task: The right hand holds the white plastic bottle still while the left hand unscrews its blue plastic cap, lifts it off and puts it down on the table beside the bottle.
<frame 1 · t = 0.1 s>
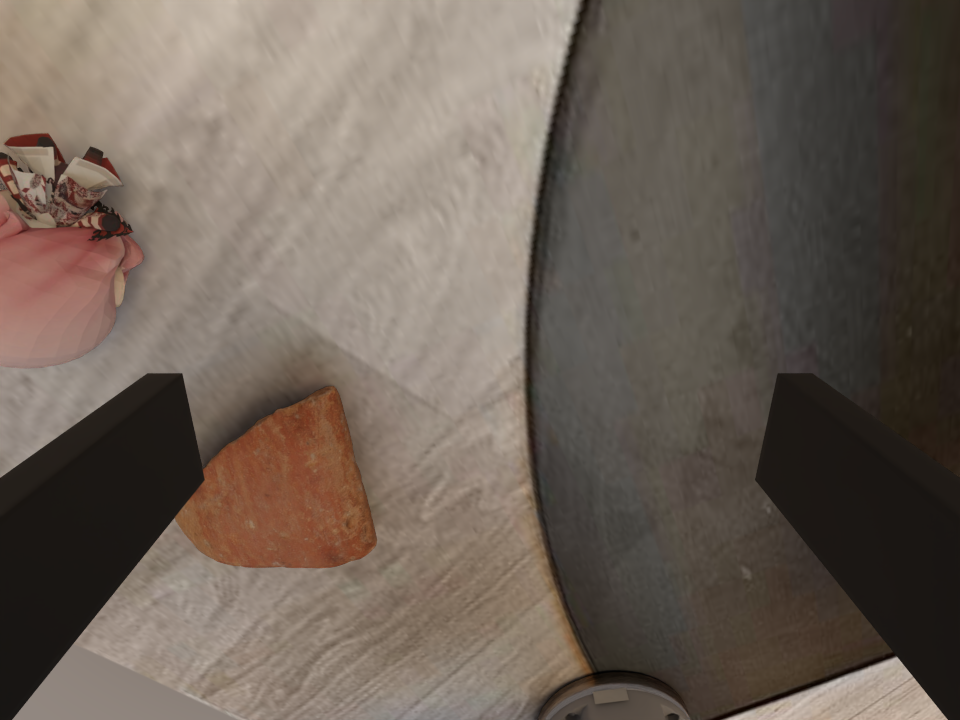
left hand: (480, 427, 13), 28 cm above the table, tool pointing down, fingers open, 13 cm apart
toy 2: (79, 235, 39), on the table
ceramic shard: (275, 470, 46), on the table
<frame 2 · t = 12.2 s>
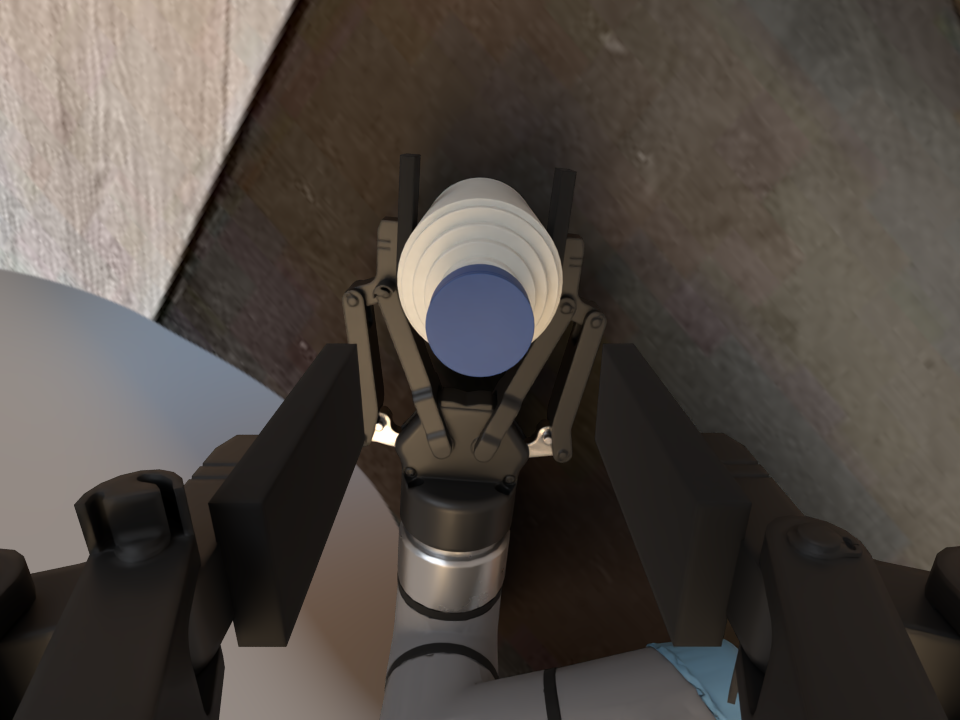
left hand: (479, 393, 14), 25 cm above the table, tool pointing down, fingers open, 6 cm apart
right hand: (488, 162, 29), fingers closed on bottle, 7 cm apart
bottle: (480, 235, 37), on the table, touching right hand
cap: (479, 324, 20), point 19 cm above the table, screwed on, not yet turned
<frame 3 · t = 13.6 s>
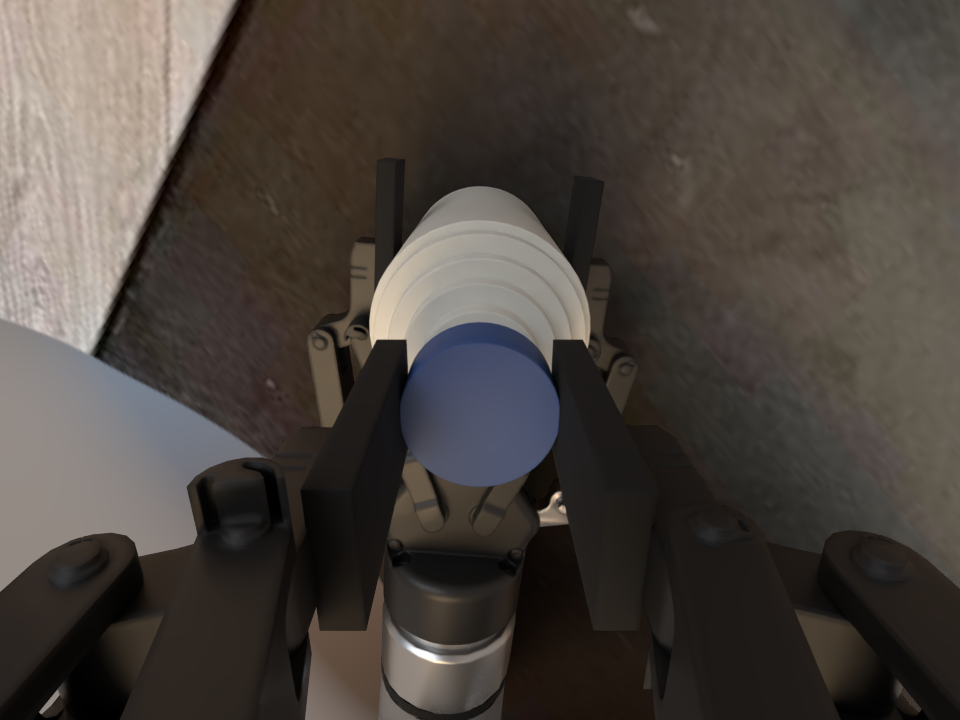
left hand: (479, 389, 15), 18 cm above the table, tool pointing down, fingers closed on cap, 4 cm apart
right hand: (490, 170, 23), fingers closed on bottle, 7 cm apart
bottle: (479, 255, 31), on the table, touching right hand
cap: (479, 413, 13), point 19 cm above the table, screwed on, not yet turned, touching left hand
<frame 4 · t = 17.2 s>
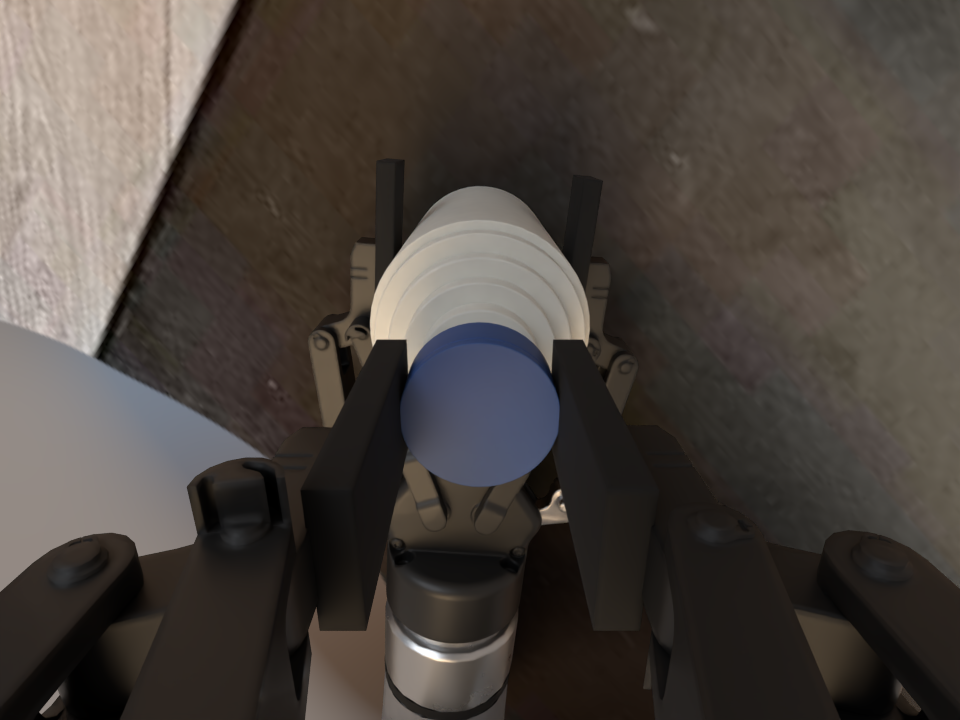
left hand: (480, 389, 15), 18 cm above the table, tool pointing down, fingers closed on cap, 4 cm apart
right hand: (489, 169, 23), fingers closed on bottle, 7 cm apart
bottle: (479, 255, 31), on the table, touching right hand
cap: (479, 413, 13), point 19 cm above the table, turned 97° so far, risen 0.1 cm, still on its thread, touching left hand
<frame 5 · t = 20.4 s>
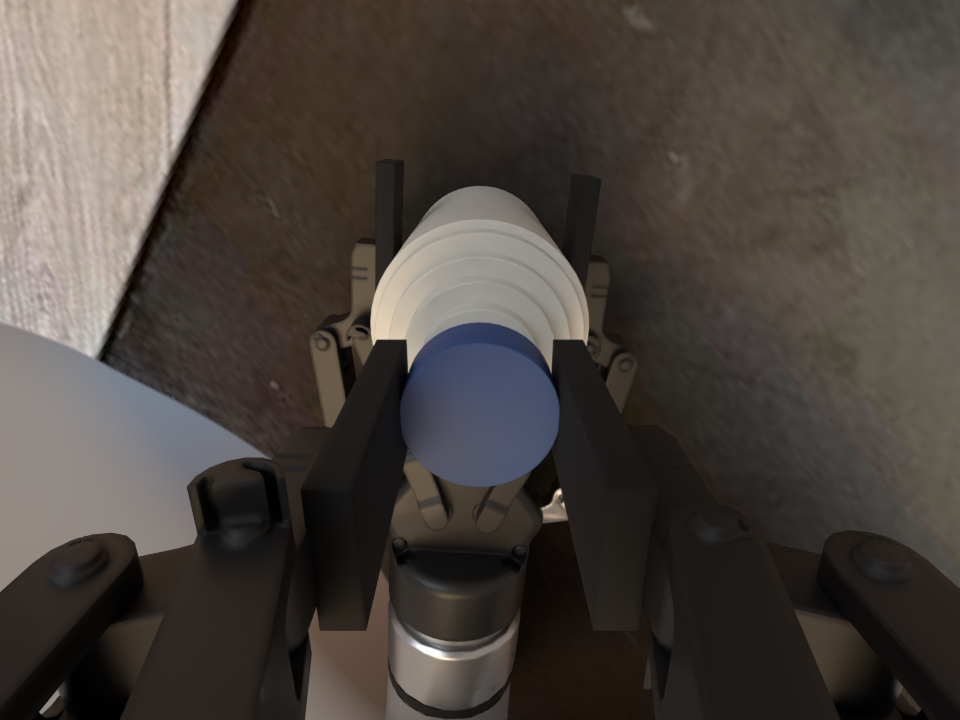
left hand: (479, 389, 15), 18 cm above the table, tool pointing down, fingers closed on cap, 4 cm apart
right hand: (488, 169, 23), fingers closed on bottle, 7 cm apart
bottle: (479, 255, 31), on the table, touching right hand
cap: (479, 413, 13), point 19 cm above the table, turned 193° so far, risen 0.2 cm, still on its thread, touching left hand
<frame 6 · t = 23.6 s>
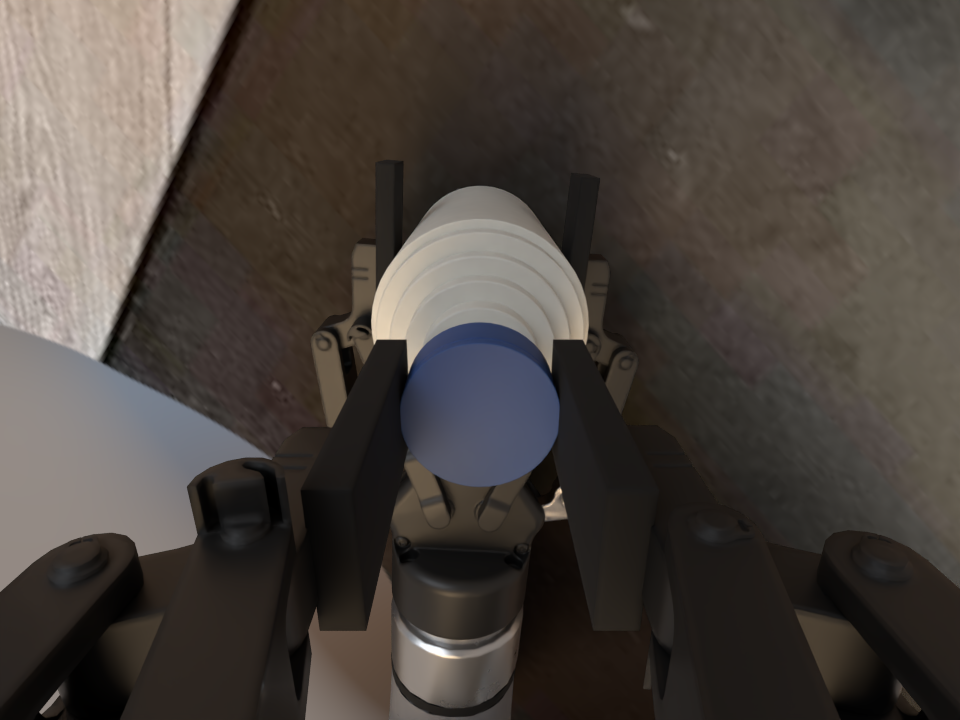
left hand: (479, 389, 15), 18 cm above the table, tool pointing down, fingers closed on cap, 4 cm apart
right hand: (487, 169, 23), fingers closed on bottle, 7 cm apart
bottle: (480, 254, 31), on the table, touching right hand
cap: (480, 413, 13), point 19 cm above the table, turned 290° so far, risen 0.3 cm, still on its thread, touching left hand
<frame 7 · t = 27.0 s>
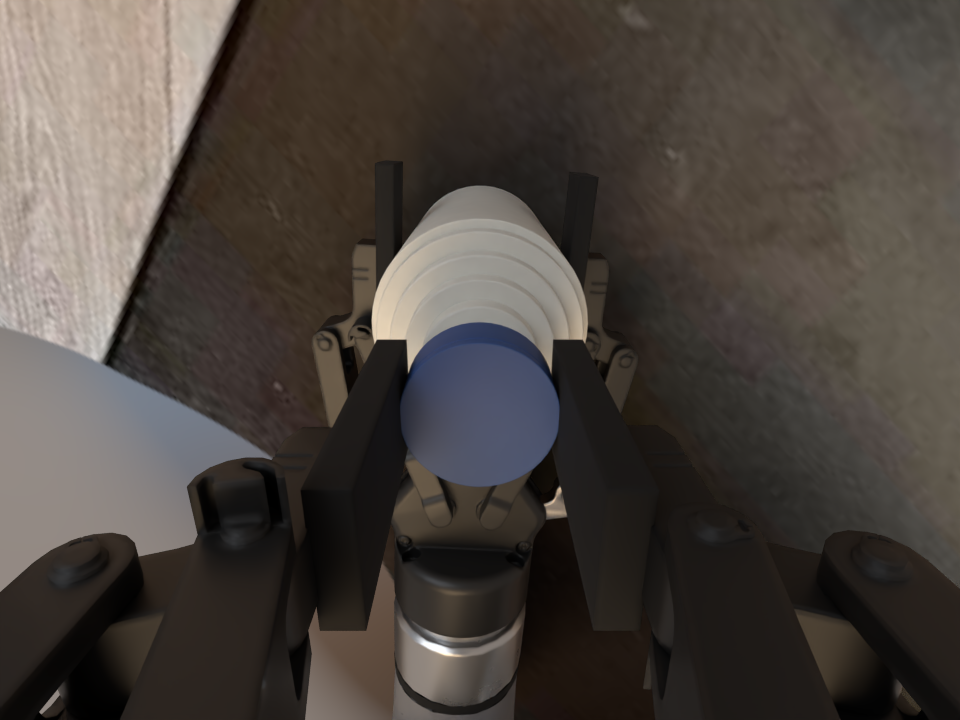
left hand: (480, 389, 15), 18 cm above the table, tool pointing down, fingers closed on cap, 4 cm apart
right hand: (486, 169, 24), fingers closed on bottle, 7 cm apart
bottle: (479, 254, 31), on the table, touching right hand
cap: (479, 413, 13), point 20 cm above the table, turned 386° so far, risen 0.5 cm, still on its thread, touching left hand
when the left hand's fingers open (1 cm above the table, at t = 34.9 s): cap drops 2 cm, point 1 cm above the table.
when the right hand's fingers open (7 cm above the table, at t = 36.2 s): bottle stays where it is, on the table.
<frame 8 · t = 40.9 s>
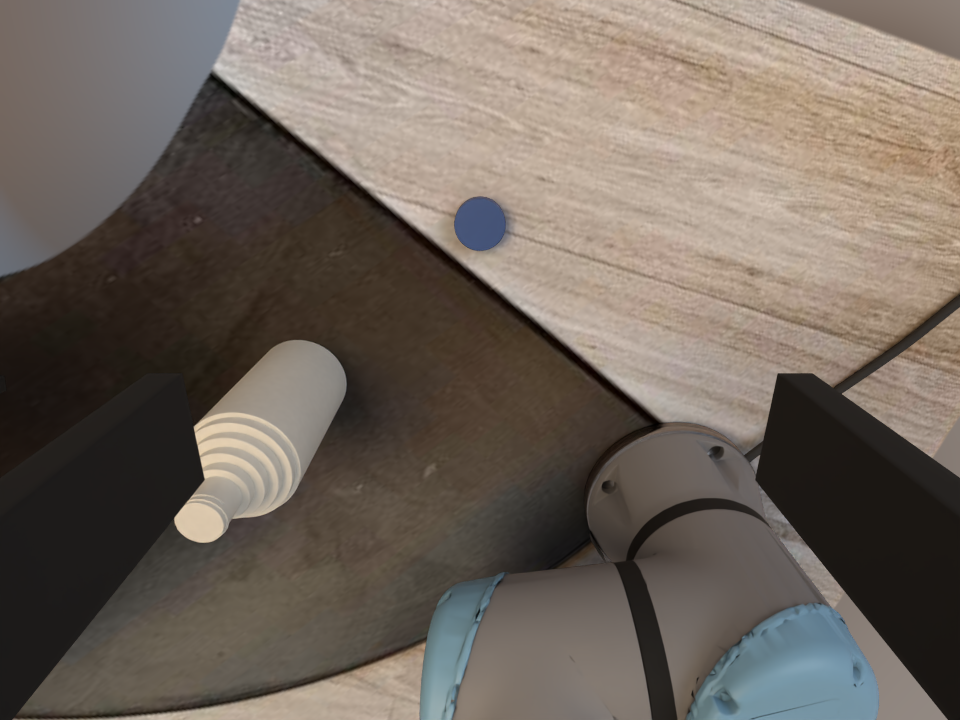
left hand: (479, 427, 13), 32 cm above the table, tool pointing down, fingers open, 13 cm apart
bottle: (302, 380, 48), on the table
cap: (479, 224, 42), point 1 cm above the table, off its thread
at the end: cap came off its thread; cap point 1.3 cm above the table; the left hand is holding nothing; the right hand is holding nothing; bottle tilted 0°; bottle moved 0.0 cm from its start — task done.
